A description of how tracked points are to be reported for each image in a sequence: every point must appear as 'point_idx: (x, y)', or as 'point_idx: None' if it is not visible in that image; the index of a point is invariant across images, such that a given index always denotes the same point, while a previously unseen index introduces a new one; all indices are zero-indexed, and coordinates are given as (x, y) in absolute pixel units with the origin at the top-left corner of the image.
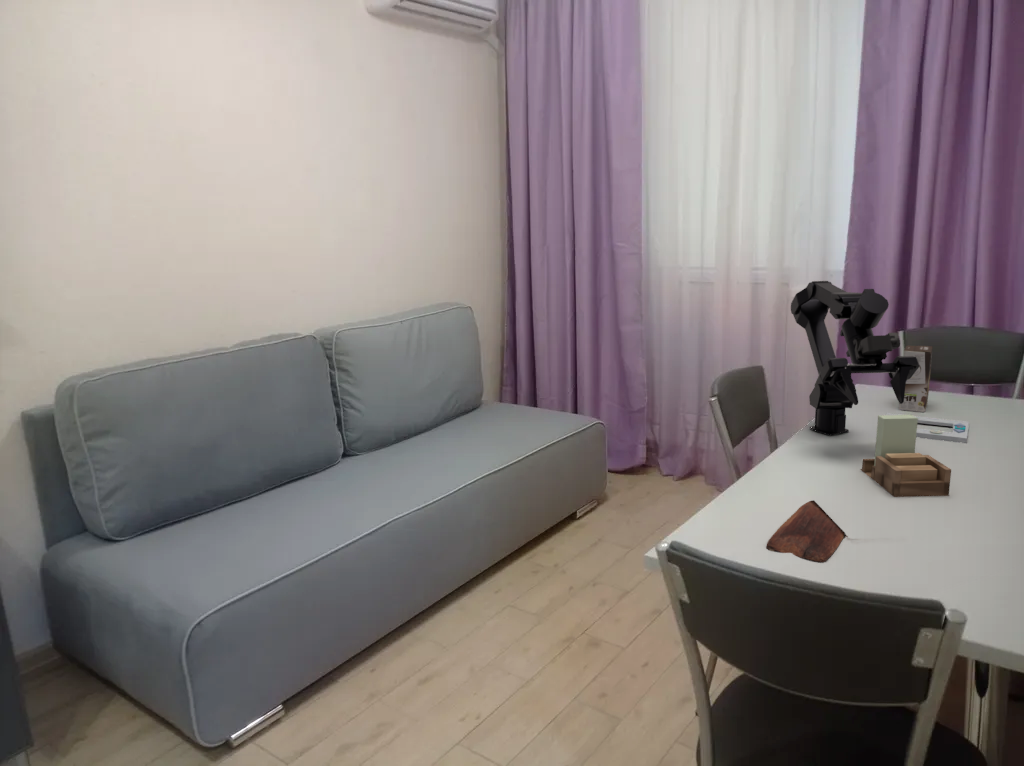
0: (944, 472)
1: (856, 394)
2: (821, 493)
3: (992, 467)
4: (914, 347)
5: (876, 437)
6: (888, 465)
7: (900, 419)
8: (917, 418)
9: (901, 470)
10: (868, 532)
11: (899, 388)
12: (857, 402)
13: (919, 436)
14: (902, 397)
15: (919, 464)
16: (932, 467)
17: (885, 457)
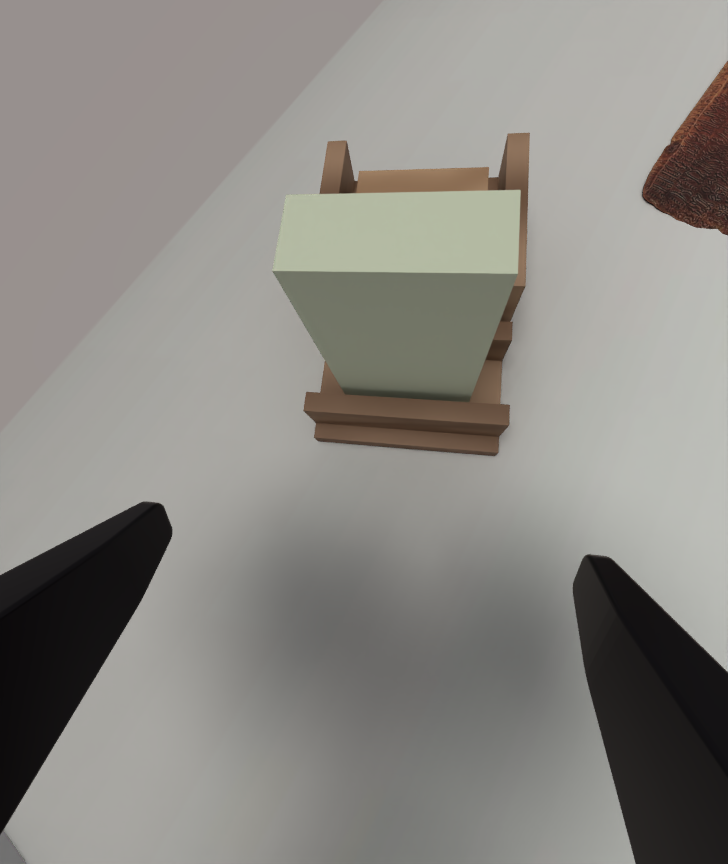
0: (348, 157)
1: (637, 626)
2: (716, 295)
3: (50, 448)
4: None
5: (488, 350)
6: (527, 185)
7: (399, 199)
8: (289, 196)
9: (488, 169)
10: (673, 52)
11: (33, 611)
12: (596, 556)
13: (8, 850)
14: (122, 521)
15: None
16: (361, 191)
17: None
